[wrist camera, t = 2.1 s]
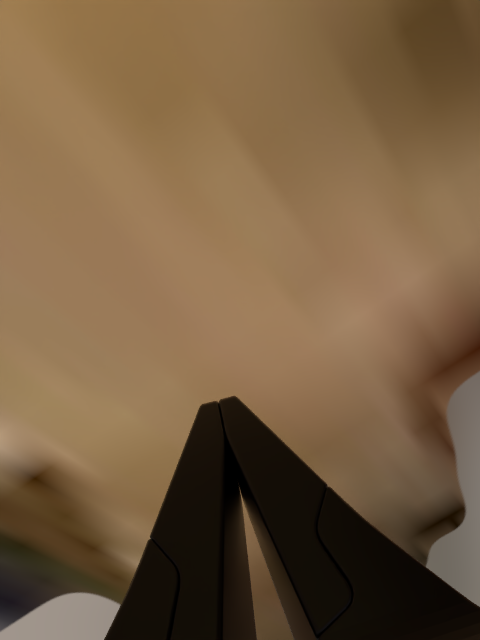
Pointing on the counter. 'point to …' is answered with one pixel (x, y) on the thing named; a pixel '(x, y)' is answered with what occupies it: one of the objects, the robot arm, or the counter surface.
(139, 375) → the counter surface
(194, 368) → the counter surface
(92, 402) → the counter surface
